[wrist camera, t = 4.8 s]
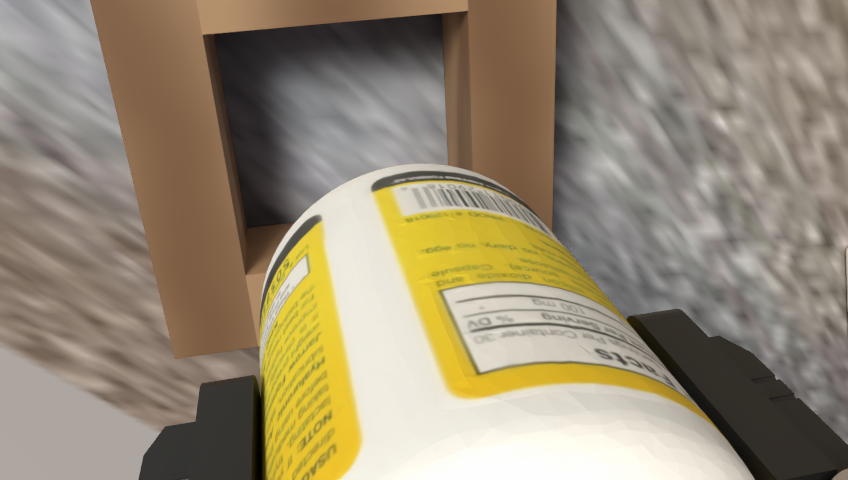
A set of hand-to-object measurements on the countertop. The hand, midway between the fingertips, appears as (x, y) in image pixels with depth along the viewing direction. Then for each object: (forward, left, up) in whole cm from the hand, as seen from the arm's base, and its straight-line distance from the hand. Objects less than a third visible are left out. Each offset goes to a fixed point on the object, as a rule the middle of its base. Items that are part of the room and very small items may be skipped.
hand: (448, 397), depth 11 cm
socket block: (0, 0, -15) cm, 15 cm away
